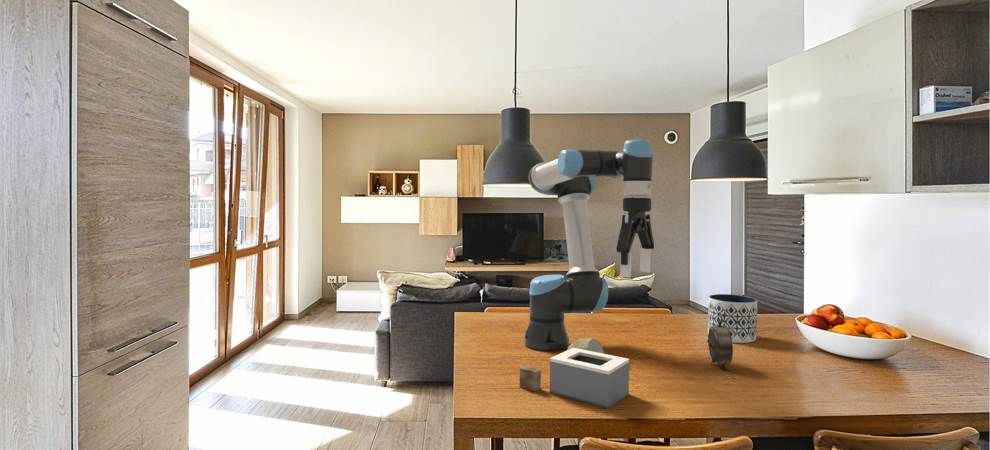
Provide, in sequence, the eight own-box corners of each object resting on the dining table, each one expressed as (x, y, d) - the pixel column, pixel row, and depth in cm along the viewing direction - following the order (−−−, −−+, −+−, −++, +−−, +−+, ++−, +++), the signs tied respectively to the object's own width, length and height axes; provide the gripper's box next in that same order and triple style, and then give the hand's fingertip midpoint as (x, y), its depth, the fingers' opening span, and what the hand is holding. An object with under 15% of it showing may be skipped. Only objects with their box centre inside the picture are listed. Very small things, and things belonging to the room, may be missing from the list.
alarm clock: (733, 372, 147) (735, 316, 146) (713, 371, 148) (715, 315, 147) (723, 360, 158) (724, 308, 157) (704, 359, 159) (705, 307, 158)
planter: (702, 331, 194) (703, 293, 193) (747, 333, 192) (748, 294, 191) (714, 342, 178) (715, 301, 178) (763, 344, 176) (764, 303, 175)
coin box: (549, 393, 131) (550, 358, 130) (572, 380, 140) (573, 347, 140) (608, 408, 121) (608, 371, 120) (628, 393, 130) (629, 358, 130)
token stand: (519, 386, 135) (519, 368, 135) (524, 384, 137) (524, 365, 136) (535, 391, 132) (535, 372, 132) (540, 388, 134) (540, 369, 133)
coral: (592, 354, 141) (568, 332, 148) (582, 382, 145) (559, 360, 152) (615, 345, 147) (590, 325, 154) (605, 373, 151) (581, 352, 158)
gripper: (631, 196, 128) (630, 281, 129) (666, 197, 148) (665, 270, 149) (604, 196, 133) (602, 278, 134) (641, 197, 153) (640, 268, 154)
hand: (635, 274), depth 142 cm, fingers open, 13 cm apart
